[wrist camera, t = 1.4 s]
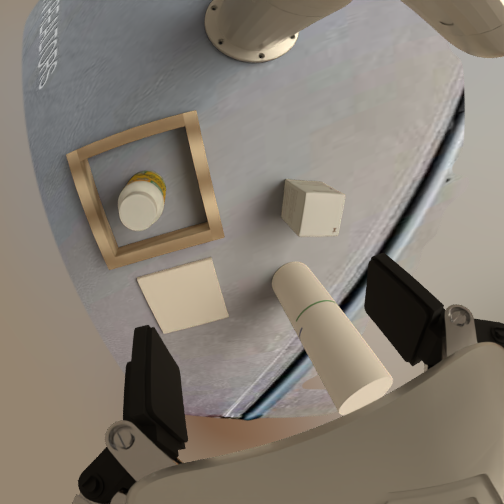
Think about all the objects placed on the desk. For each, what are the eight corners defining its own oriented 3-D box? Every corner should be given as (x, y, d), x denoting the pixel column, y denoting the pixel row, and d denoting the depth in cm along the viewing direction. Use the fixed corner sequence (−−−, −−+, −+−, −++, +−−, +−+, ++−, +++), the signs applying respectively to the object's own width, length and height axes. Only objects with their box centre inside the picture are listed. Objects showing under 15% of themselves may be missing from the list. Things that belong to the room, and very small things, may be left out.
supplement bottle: (121, 198, 33) (104, 224, 25) (138, 163, 32) (124, 178, 24) (155, 214, 36) (149, 245, 27) (173, 180, 34) (171, 201, 26)
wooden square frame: (74, 151, 28) (66, 154, 26) (194, 111, 31) (196, 110, 28) (113, 259, 37) (109, 270, 34) (221, 228, 39) (224, 237, 37)
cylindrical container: (269, 298, 47) (330, 421, 26) (274, 263, 44) (351, 388, 23) (306, 294, 49) (378, 403, 28) (313, 260, 46) (402, 369, 25)
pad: (137, 277, 39) (136, 279, 39) (211, 256, 41) (211, 258, 40) (163, 331, 45) (163, 333, 45) (228, 314, 47) (228, 316, 46)
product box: (321, 180, 39) (347, 194, 33) (315, 218, 42) (338, 237, 36) (284, 178, 38) (305, 191, 32) (279, 217, 41) (298, 238, 34)
